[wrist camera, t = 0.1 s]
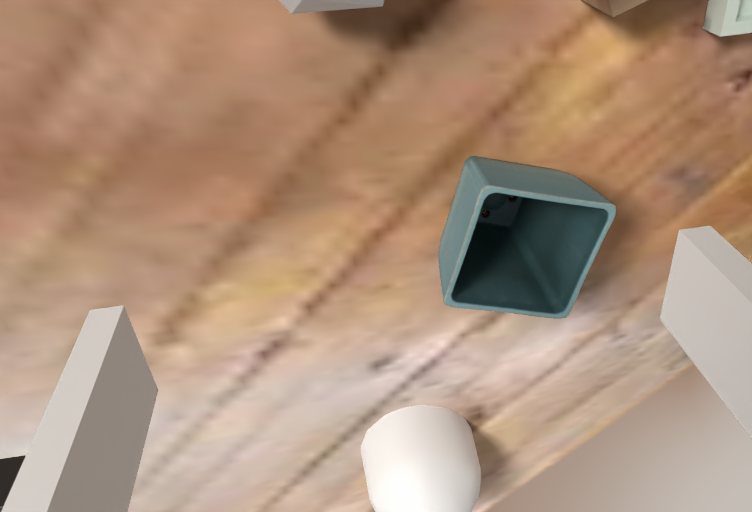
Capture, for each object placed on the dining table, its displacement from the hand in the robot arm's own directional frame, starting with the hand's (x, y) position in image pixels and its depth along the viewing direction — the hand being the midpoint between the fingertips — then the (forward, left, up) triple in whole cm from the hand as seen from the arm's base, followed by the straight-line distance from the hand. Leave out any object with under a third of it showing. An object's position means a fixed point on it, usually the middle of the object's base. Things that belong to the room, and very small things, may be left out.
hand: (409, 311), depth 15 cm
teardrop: (+40, +3, -28) cm, 49 cm away
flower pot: (+13, +10, -28) cm, 32 cm away
